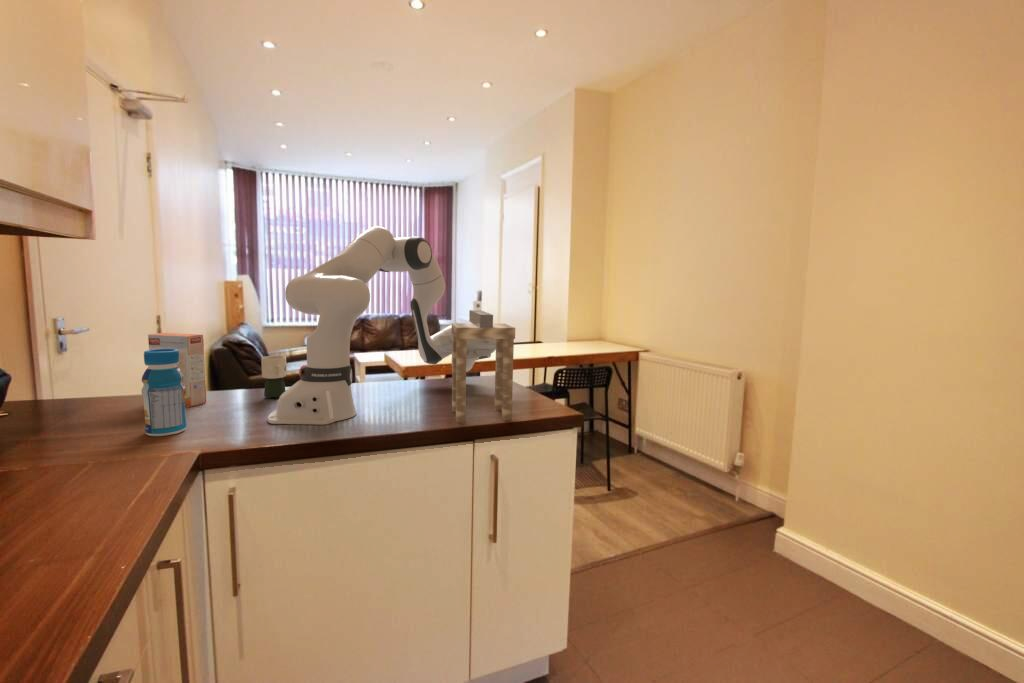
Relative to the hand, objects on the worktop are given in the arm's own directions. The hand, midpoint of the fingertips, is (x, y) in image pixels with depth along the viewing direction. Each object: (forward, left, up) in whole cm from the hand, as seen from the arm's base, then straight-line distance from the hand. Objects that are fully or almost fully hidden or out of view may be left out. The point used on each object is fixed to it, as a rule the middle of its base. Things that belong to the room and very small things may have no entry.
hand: (471, 333), depth 157 cm
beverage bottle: (-78, -28, -21) cm, 86 cm away
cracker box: (-87, +1, -21) cm, 90 cm away
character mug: (-62, +6, -21) cm, 66 cm away
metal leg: (0, -19, +5) cm, 20 cm away
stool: (0, -23, -21) cm, 31 cm away
